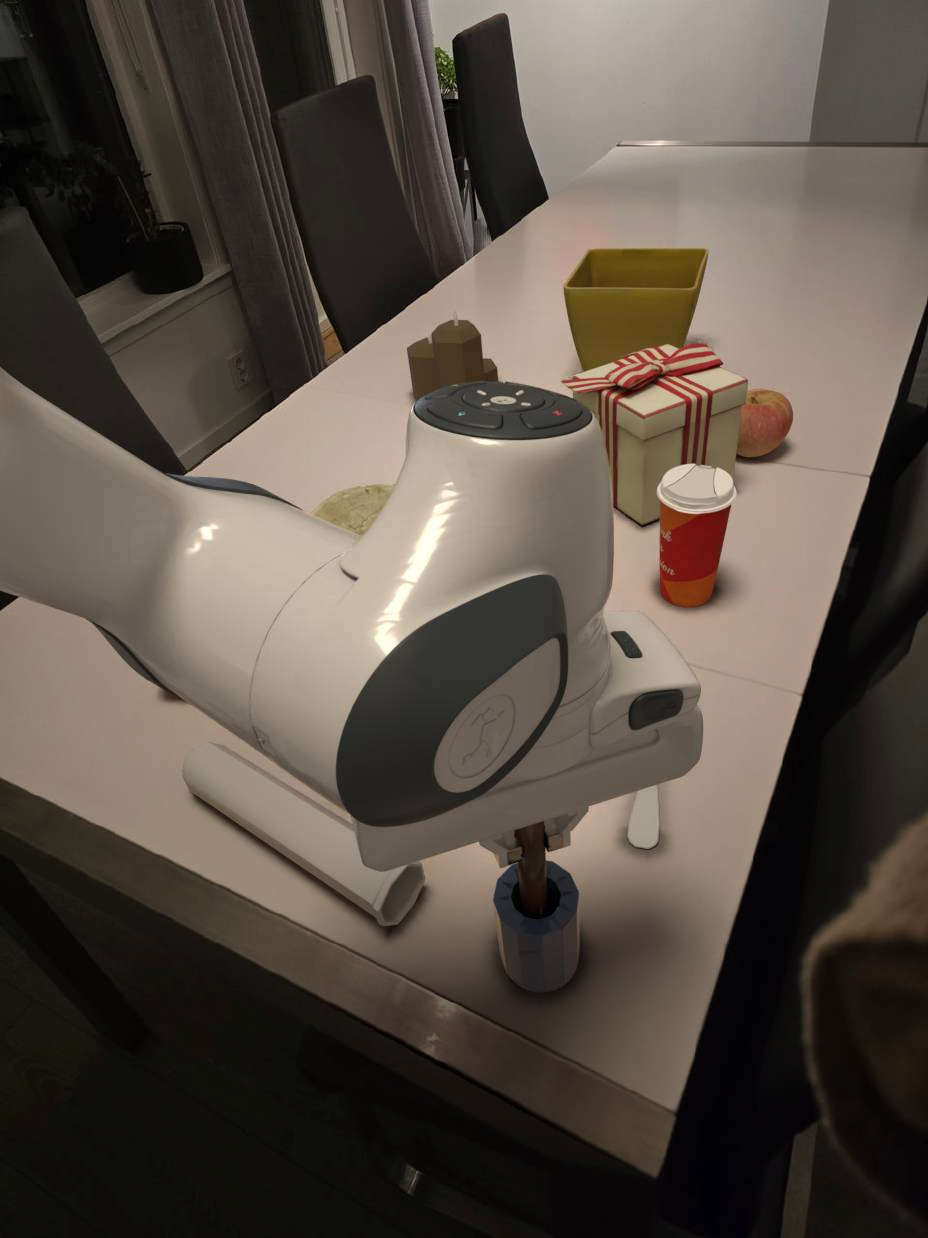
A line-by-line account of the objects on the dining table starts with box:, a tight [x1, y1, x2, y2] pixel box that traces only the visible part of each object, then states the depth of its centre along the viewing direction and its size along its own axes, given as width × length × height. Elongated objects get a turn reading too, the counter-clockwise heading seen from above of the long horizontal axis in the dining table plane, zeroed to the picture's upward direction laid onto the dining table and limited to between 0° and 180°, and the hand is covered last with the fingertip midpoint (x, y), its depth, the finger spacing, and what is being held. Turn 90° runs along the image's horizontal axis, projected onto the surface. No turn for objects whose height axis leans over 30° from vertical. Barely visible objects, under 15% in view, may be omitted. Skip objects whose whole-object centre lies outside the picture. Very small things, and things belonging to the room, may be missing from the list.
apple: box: [736, 388, 794, 458], centre depth 107 cm, size 9×9×8 cm
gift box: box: [560, 342, 749, 526], centre depth 101 cm, size 17×18×17 cm
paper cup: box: [657, 464, 738, 608], centre depth 84 cm, size 8×8×14 cm
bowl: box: [310, 483, 395, 536], centre depth 90 cm, size 14×18×15 cm
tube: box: [181, 742, 426, 927], centre depth 67 cm, size 5×5×25 cm
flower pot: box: [562, 247, 710, 372], centre depth 126 cm, size 19×19×17 cm
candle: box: [406, 310, 499, 402], centre depth 126 cm, size 14×14×15 cm
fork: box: [626, 784, 661, 850], centre depth 72 cm, size 3×21×3 cm, turn 165°
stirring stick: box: [515, 821, 548, 919], centre depth 52 cm, size 2×2×17 cm
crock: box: [492, 859, 581, 994], centre depth 56 cm, size 6×6×8 cm
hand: (531, 848), depth 50 cm, fingers closed on stirring stick, 2 cm apart
